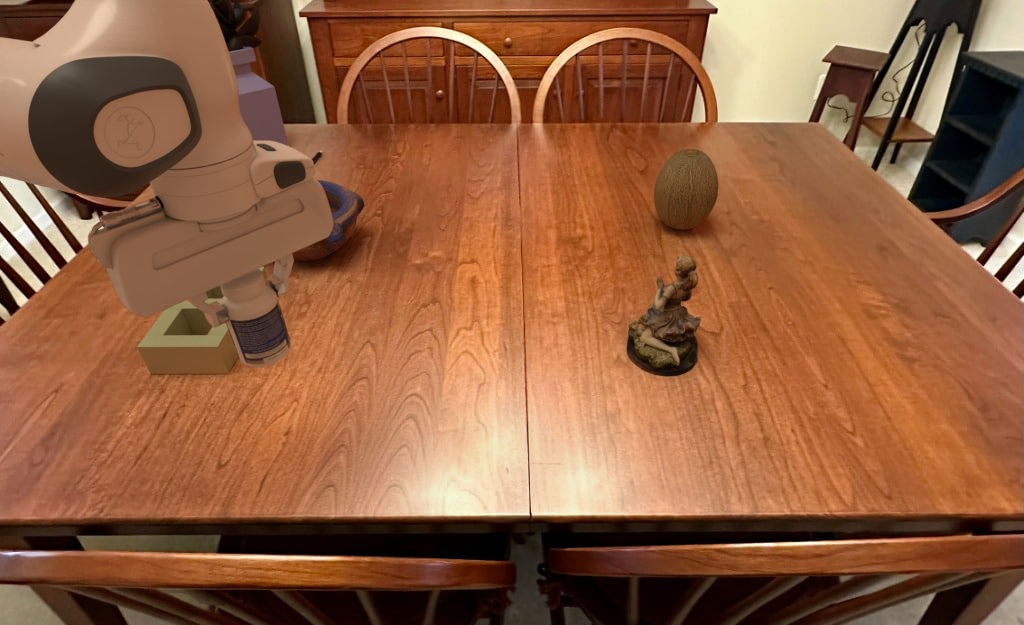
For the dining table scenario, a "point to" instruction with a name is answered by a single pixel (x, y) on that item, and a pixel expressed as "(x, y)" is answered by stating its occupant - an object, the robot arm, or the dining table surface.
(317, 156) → the pen
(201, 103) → the robot arm
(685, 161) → the fruit
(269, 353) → the pill bottle
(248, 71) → the vase
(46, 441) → the dining table surface
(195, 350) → the compartment tray
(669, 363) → the figurine
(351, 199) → the bowl
